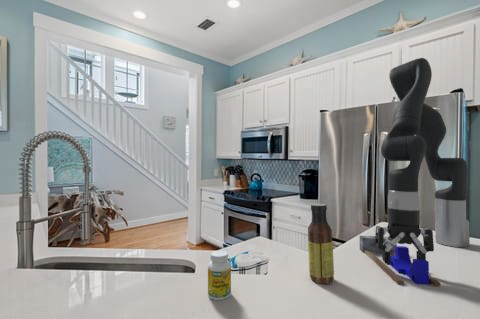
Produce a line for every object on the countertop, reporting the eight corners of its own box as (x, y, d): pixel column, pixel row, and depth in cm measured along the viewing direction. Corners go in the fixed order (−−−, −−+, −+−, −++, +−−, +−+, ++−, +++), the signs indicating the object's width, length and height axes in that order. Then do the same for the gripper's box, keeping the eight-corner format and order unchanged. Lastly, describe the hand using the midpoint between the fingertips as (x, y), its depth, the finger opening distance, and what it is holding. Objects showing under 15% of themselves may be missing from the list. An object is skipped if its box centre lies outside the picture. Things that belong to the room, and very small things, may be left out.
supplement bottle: (228, 287, 61) (228, 248, 61) (232, 299, 56) (233, 256, 56) (206, 290, 60) (206, 250, 60) (208, 302, 55) (209, 258, 55)
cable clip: (390, 265, 76) (389, 245, 76) (406, 266, 75) (406, 246, 75) (409, 284, 64) (409, 260, 64) (428, 285, 63) (428, 261, 63)
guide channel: (392, 251, 88) (392, 236, 88) (442, 287, 62) (442, 266, 62) (359, 249, 89) (359, 235, 89) (395, 284, 63) (395, 264, 63)
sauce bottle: (333, 276, 67) (333, 203, 68) (334, 287, 62) (334, 206, 62) (308, 273, 70) (308, 201, 70) (307, 283, 64) (307, 205, 64)
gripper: (422, 205, 73) (423, 261, 72) (371, 204, 75) (371, 258, 74) (439, 210, 65) (440, 272, 65) (382, 208, 67) (382, 268, 67)
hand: (403, 264), depth 70 cm, fingers open, 8 cm apart
